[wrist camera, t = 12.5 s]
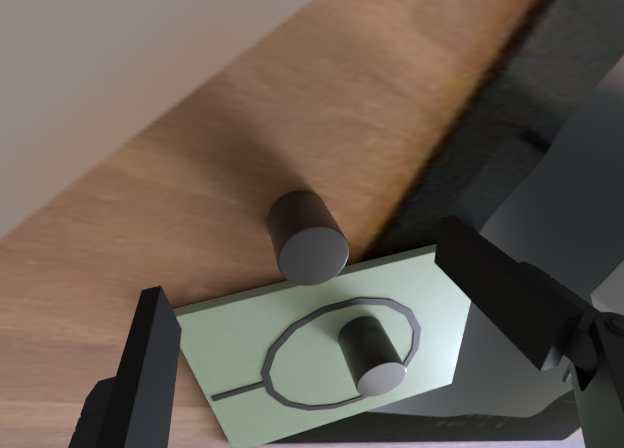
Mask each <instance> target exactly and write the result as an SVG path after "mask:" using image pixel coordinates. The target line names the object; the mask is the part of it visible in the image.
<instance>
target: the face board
mask: <svg viewBox="0 0 624 448" xmlns="http://www.w3.org/2000/svg"><path fill="white" fill-rule="evenodd" d="M435 251H436V244H434V245H430V246H426V247H422V248H418V249H414V250H409V251H405V252H401V253H397V254H393V255H389V256H385V257H381V258H377V259H373V260H369V261H365V262H361V263H357V264H353V265H349V266H344V267H343V268H342V270H341V271H340V272H339V273H338V274H337V275H336V276H334V277H333V278H332V279H330V280H328V281H326V282H324V283H321V284H318V285H313V286H301V285H297V284H294V283H292V282H290V281H284V282H279V283H275V284H271V285H267V286H263V287H259V288H255V289H251V290H247V291H243V292H239V293H235V294H231V295H227V296H223V297H219V298H215V299H210V300H206V301H202V302H198V303H194V304H190V305H186V306H182V307H178V308H174V309H172V310H173V312H174V314H175V316H176V318H177V320H178V322H179V324H180V326H181V328H182V333H181V341H180V348H181V350H182V352H183V354H184V356H185V358H186V360H187V362H188V364H189V365H190V367H191V369H192V371H193V373H194V375H195V377H196V379H197V381H198V383H199V385H200V387H201V389H202V391H203V393H204V395H205V397H206V399H207V400H208V402H209V404H210V406H211V408H212V410H213V412H214V414H215V416H216V418H217V420H218V422H219V424H220V426H221V428H222V430H223V432H224V434H225V436H226V437H227V439H228V441H229V443H230V445H231V447H232V448H253V447H256V446H259V445H262V444H265V443H268V442H271V441H274V440H278V439H281V438H284V437H287V436H290V435H293V434H296V433H299V432H302V431H305V430H308V429H312V428H315V427H318V426H321V425H324V424H327V423H330V422H333V421H336V420H339V419H343V418H346V417H349V416H352V415H355V414H358V413H361V412H364V411H367V410H370V409H373V408H377V407H380V406H383V405H386V404H389V403H392V402H395V401H398V400H401V399H404V398H407V397H411V396H413V395H417V394H420V393H423V392H426V391H429V390H432V389H435V388H439V387H442V386H445V385H447V384H451V383H452V379H453V375H454V371H455V366H456V362H457V358H458V353H459V349H460V345H461V341H462V336H463V332H464V328H465V324H466V319H467V315H468V311H469V306H470V302H471V300H470V299H469V298H468V297H467V296H466V295H465V294H464V293H463V292H462V291H461V290H460V288H459V287H458V286H457V285H456V284H455V283H454V282H453V281H452V280H451V279H450V278H449V277H448V276H447V275H446V274H445V273H444V272H443V271H442V270H441V269H440V268H439V267H438V266H437V265H436V264H435V263H434V259H435ZM365 316H370V317H374V318H376V319H378V320H379V321H380V322H381V324H382V326H383V328H384V329H385V331H386V333H387V335H388V337H389V338H390V340H391V342H392V344H393V346H394V347H395V349H396V351H397V353H398V355H399V356H400V358H401V360H402V362H403V363H404V365H405V367H406V376H405V378H404V380H403V381H402V382H401V383H400V384H399V385H398V386H397V387H396V388H394V389H393V390H391V391H389V392H387V393H385V394H382V395H379V396H373V397H367V396H363V395H361V394H359V393H358V392H357V390H356V387H355V385H354V382H353V379H352V377H351V374H350V372H349V369H348V366H347V364H346V361H345V358H344V356H343V353H342V351H341V348H340V345H339V343H338V335H339V332H340V330H341V329H342V328H343V327H344V326H345V325H346V324H347V323H349V322H350V321H352V320H354V319H356V318H359V317H365Z"/></svg>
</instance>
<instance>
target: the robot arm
mask: <svg viewBox="0 0 624 448" xmlns="http://www.w3.org/2000/svg"><path fill="white" fill-rule="evenodd" d="M434 263H435V264H436V265H437V266H438V267H439V268H440V269H441V270H442V271H443V272H444V273H445V274H446V275H447V276H448V277H449V278H450V279H451V280H452V281H453V282H454V283H455V284H456V285H457V286H458V287H459V288H460V290H461V291H462V292H463V293H464V294H465V295H466V296H467V297H468V298H469V299H470V300H471V301H472V302H473V303H474V304H475V305H476V306H477V307H478V308H479V309H480V310H481V311H482V312H483V313H484V314H485V315H486V316H487V317H488V318H489V319H490V320H491V321H492V322H493V323H494V324H495V325H496V326H497V327H498V329H500V331H501V332H502V333H504V335H505V336H506V337H507V338H508V339H509V340H510V341H511V342H512V343H513V344H514V345H515V346H516V347H517V348H518V349H519V350H520V351H521V352H522V353H523V354H524V355H525V356H526V357H527V358H528V359H529V360H530V361H531V362H532V363H533V364H534V365H535V366H536V367H537V368H538V370H539V371H543V370H546V369H548V368H551V367H554V366H557V365H558V364H559V362H560V360H561V358H562V356H563V354H564V355H565V356H566V357H567V358H568V359H569V360H571V362H570V364H569V366H568V368H567V370H566V372H565V374H564V375H563V381H564V382H567V380H568V378H569V377H570V375H571V379H572V384H573V389H574V394H575V399H576V404H577V409H578V413H579V418H580V423H581V428H582V433H583V438H584V443H585V447H586V448H624V315H621V314H618V313H615V312H601V311H599V310H597V309H596V308H595V307H593V306H592V305H590V304H589V303H587V302H586V301H585V300H583V299H582V298H580V297H579V296H578V295H576V294H574V293H573V292H572V291H571V290H569V289H568V288H566V287H565V286H564V285H560V283H559V282H558V281H556V280H555V279H554V278H551V277H550V276H549V275H548V274H547V273H545V272H544V271H542V270H541V269H539V268H538V267H535V266H533V265H531V264H528V263H526V262H521V263H517V262H516V261H515V260H514V259H512V258H511V257H509V256H508V255H507V254H505V253H504V252H503V251H501V250H500V249H499V248H497V247H496V246H495V245H493V244H492V243H491V242H489V241H488V240H487V239H485V238H484V237H482V236H481V235H480V234H478V233H477V232H476V231H474V230H473V229H472V228H470V227H469V226H468V225H466V224H465V223H464V222H462V221H461V220H460V219H458V218H457V217H455V216H454V215H452V216H448V217H444V218H440V220H439V227H438V235H437V243H436V251H435V259H434ZM181 333H182V328H181V326H180V324H179V322H178V320H177V318H176V316H175V314H174V312H173V310H172V308H171V305H170V303H169V301H168V299H167V297H166V295H165V293H164V291H163V289H162V287H161V286H157V287H153V288H149V289H145V290H142V292H141V295H140V298H139V302H138V305H137V308H136V312H135V315H134V318H133V321H132V325H131V328H130V331H129V335H128V338H127V341H126V345H125V348H124V351H123V355H122V358H121V361H120V365H119V368H118V371H117V375H116V376H115V377H112V378H108V379H105V380H101V381H98V383H97V384H96V385H95V387H94V388H93V389H92V391H91V392H90V394H89V395H88V396H87V398H86V401H85V403H84V406H83V409H82V411H81V414H80V415H81V417H80V418H79V420H78V422H77V425H76V428H75V429H76V431H75V432H74V433H73V436H72V439H71V442H70V444H69V447H68V448H167V447H168V439H169V431H170V423H171V414H172V406H173V398H174V390H175V382H176V373H177V365H178V357H179V349H180V341H181Z"/></svg>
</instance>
